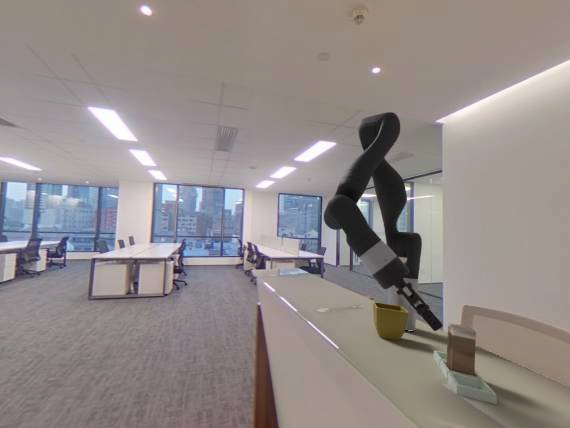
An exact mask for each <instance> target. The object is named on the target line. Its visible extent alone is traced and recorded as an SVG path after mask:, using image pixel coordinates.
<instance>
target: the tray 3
mask: <svg viewBox="0 0 570 428" xmlns="http://www.w3.org/2000/svg"><path fill="white" fill-rule="evenodd" d="M447 381H448V383H449V384H450V386H451V388H452V389H453V391H454V392H455V394H456V395H457V396H463V397H465V398H470V399H473V400H478V401H482V402H486V403H489V404H492V405H497V403H498V400H497V399H498V396H497V393H496V392H495V391H494V390H493V389H492V388H491V386H489V385H488V383H487V382H486V381H485V380H484V379H483V378H482V379H477V378H473V377H469V376H464V375H460V374H456V373H451V372H448V379H447Z"/></svg>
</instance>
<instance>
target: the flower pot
mask: <svg viewBox="0 0 570 428" xmlns="http://www.w3.org/2000/svg"><path fill="white" fill-rule="evenodd" d="M372 304H373V305H372V308H373V309H372V312H373V324H374V326H375V331H376V332H377V335H378V337H379V338H383V339H387V340H388V339H389V340H394V341H400V340H401V338H403V335H404V333H405V332H406V331H405V329H406V324H407V319H408V314H409V312H408V311H407V310H406V309H404V308H403V307H402V306H397V305H391V304H388V303H383V302H377V301H373V302H372Z"/></svg>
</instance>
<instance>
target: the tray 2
mask: <svg viewBox="0 0 570 428" xmlns="http://www.w3.org/2000/svg"><path fill="white" fill-rule="evenodd" d="M446 363H447V361H443V360H440V366H439V369H440V370H441V371H442V372H443V374H444V376H445V378H446V379H447V380H448V372H451V373H456V374H460V375H464V376H469V377H473V378H477V379H482V380H483V378H482V377H481V376H480V375H479V373H478V372H477V371H476V370H475V372H474V376H472V375H467V374H463V373H459V372H454V371H450V370H449V369H448V367H447V366H446Z"/></svg>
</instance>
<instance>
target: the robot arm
mask: <svg viewBox="0 0 570 428" xmlns="http://www.w3.org/2000/svg"><path fill="white" fill-rule="evenodd" d="M357 128H358V138H359V142H360V145H361V147H362V151H363V152H362V153H361V154H359V155H358V156H357V157H356V158H354V159H353V160H352V161H351V162H350V164H349V165H348V166H347V168H346V169H345V171H344V173H343V175H342V177H341V178H340V181H339V183H338V186H337V188H336V191H335V193H334V194H333V196H332V197H331V198H330V199H329V201H327V205H326V208H325V210H324V213H323V221H324V224H325V225H326V227H327V228H329V229H331V230H334V231H339V230H342V231H343V232H344V234H345V236H346V238H345V241H346V243H347V245H348V247H349V249H351V250H352V252H353V253H354V254H355V255H356V256H357V258H358V259H359V260H360V262H361V263H362V265H363V266H364V267H365V269H366V270H367V271H368V272H369V274H370V275H371V276H372V277H373V278H374V280H375V281H376V282H377V283H378V284H379V286H380V287H381V288H382V289H383V290H388V297H387V304H391V305H397V306H402V307H403V308H404V309H406V310H407V311H408V312H409V314H408V319H407V324H406V329H405V330H414V329H415V330H416V322H417V315H418V316H419V317H421V318H422V319H423V320H424V321H425V322H426V324H427V325H428V326H429V327H430V328H431V329H432V330H433V331H434V332H437V331H439V330H440V329H442V328H443V326H444V325H443V323H442V322H441V321H440V319H439V318H438V317H437V316H436V315H435V314H434V312H432V310H431V308H430V305H428V304H427V303H426V302H425V299H424V297H423V296H422V295H421V294H420V292H419V291H418V290H419V289H418V288H419V274H420V273H419V272H420V268H421V267H420V266H421V265H420V264H421V256H422V248H423V245H422V244H423V241H422V236H421V235H420V234H419V232H413V231H399V230H398V225H397V223H398V221H399V218H400V216H401V214H402V212H403V210H404V209H405V207H406V204H407V201H408V195H407V191H406V185H405V182H404V179H403V177H402V176H401V174H400V173H399V172H398V171H397V170H396V169H395V168H394V167H393V166H392V165H391V164H390V163H389V162H388V161H387V159H386V158H385V157H386V156H387V154H389V152H390V150H391V149H392V148H393V147H394V145H395V143H396V142H397V140H398V139H399V136H400V134H401V121H400V119H399V117H398V115H397V113H395V112H392V111H390V112H386V111H385V112H381V113H378V114H375V115H371V116H366V117H364V118H362V119H361V120H360V121H359V124H358V127H357ZM371 179H372V182H373V186H374V190H375V195H376V198H377V203H378V206H379V210H380V214H381V217H382V222H383V229H384V236H385V241H386V243H385V242H384V241H383V240H382V239H381V237H379V235H378V234H377V233H376V232H375V230H373V229H372V228H371V226H370V225H369V223H368V221H367V219H366V217H365V216H364V214H363V212H362V211H361V209H360V207H359V206H358V202H359V201H360V199H361V198H362V196H363V195H364V193H365V192H366V189H367V187H368V185H369V183H370V181H371ZM401 258H404V259H406V261H405V262H403V261H402V260H401Z"/></svg>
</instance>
